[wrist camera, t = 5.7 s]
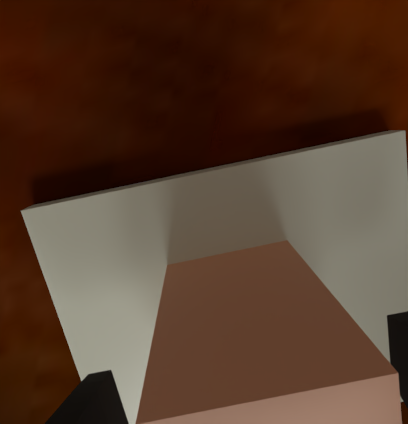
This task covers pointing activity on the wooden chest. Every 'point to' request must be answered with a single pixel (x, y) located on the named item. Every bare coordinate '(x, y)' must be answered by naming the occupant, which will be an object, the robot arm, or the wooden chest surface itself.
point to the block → (261, 348)
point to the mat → (225, 243)
